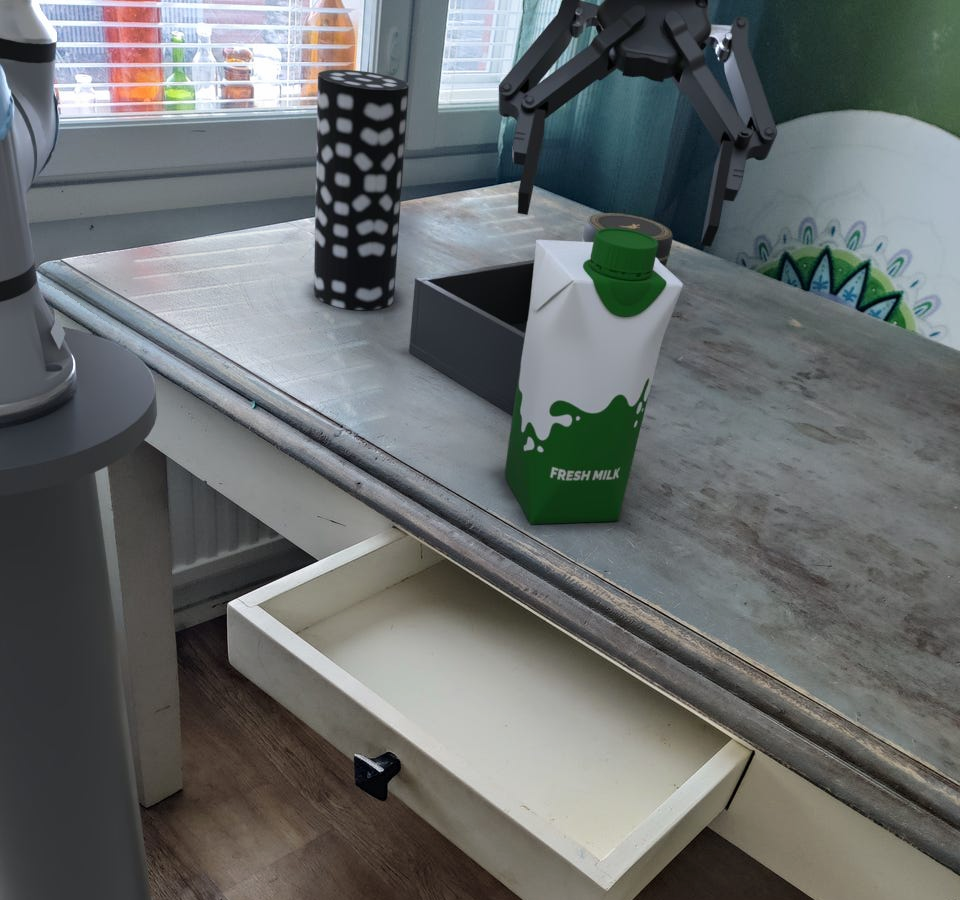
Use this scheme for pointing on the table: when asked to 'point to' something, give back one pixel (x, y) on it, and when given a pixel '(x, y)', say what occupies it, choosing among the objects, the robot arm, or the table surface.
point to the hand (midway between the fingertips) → (615, 220)
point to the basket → (475, 327)
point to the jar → (631, 223)
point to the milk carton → (586, 373)
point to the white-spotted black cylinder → (358, 187)
